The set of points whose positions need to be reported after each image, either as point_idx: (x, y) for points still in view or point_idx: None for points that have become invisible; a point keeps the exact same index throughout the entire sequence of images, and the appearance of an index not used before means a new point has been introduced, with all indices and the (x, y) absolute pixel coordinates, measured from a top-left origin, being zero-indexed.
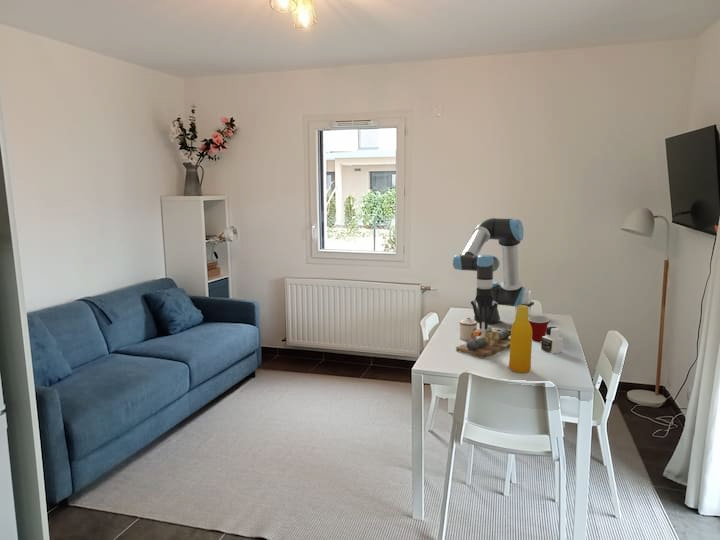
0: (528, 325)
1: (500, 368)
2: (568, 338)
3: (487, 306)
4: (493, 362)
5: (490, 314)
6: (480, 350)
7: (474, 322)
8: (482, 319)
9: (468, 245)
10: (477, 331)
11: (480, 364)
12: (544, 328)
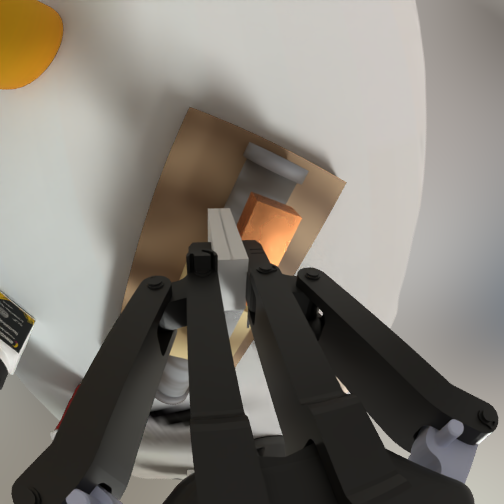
0: None
1: (99, 14)
2: (52, 409)
3: (196, 473)
4: (135, 69)
5: (135, 344)
6: (220, 164)
7: None
8: (253, 315)
9: None
10: (268, 229)
11: (193, 17)
12: (62, 416)
